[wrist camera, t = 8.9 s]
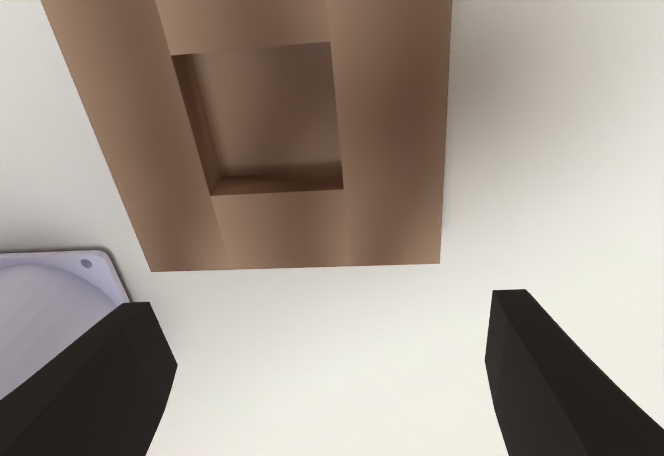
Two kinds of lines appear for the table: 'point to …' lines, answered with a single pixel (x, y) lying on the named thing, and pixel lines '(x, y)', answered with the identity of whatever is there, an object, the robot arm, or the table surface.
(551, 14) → the table surface
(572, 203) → the table surface
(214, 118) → the pocket block
